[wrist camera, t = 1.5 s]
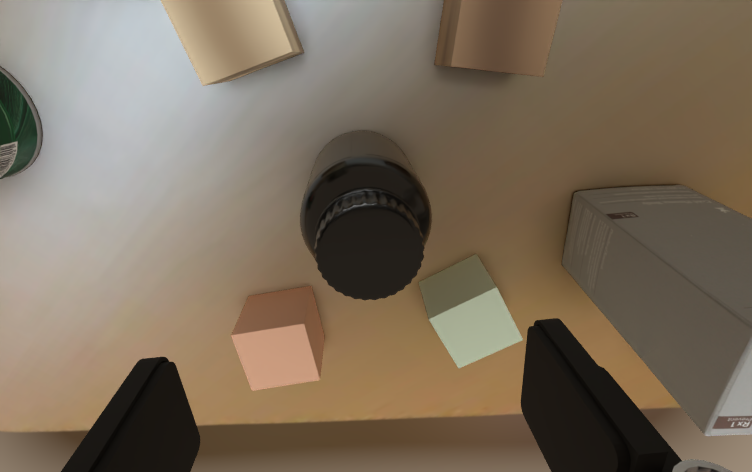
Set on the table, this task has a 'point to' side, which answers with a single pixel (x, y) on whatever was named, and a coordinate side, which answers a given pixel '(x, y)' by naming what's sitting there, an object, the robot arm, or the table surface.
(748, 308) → the skincare box
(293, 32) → the maple cube
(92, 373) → the table surface
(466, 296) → the sage painted cube
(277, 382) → the terracotta painted cube
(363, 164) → the supplement bottle
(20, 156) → the canned tomato
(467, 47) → the walnut cube
